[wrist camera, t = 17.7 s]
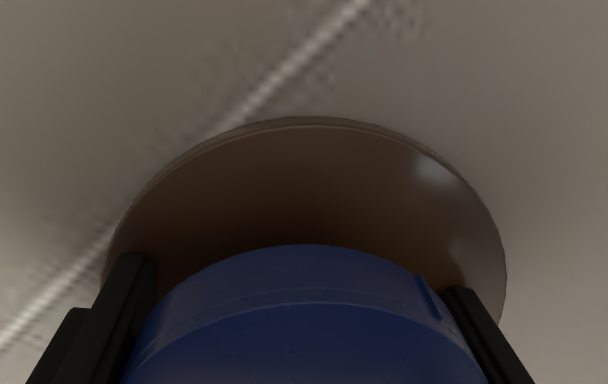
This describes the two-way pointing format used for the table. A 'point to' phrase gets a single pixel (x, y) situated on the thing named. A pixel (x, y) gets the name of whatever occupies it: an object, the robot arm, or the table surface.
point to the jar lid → (301, 324)
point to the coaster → (315, 206)
